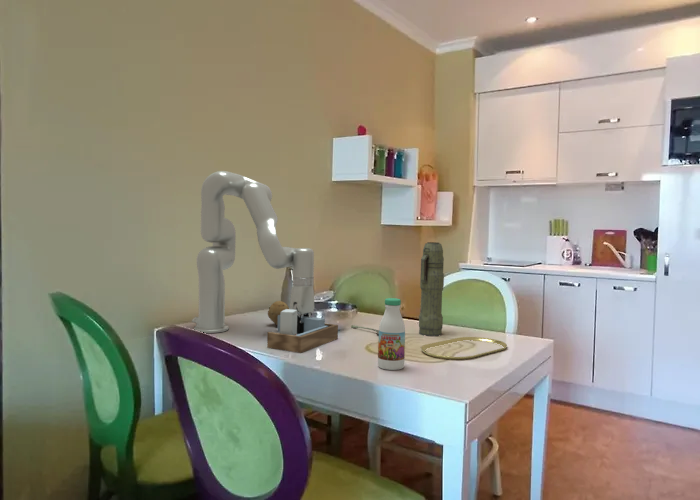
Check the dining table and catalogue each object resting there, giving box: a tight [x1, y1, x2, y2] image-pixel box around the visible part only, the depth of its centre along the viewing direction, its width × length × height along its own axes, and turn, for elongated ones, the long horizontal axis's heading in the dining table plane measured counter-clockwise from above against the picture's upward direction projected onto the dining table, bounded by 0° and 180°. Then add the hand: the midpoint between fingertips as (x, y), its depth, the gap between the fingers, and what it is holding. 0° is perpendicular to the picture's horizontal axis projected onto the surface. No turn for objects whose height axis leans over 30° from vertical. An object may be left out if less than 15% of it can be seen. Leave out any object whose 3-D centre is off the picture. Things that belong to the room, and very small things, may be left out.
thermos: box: [418, 241, 445, 337], centre depth 199 cm, size 9×12×35 cm
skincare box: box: [279, 308, 298, 335], centre depth 175 cm, size 6×4×12 cm
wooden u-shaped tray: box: [266, 323, 339, 354], centre depth 180 cm, size 13×24×5 cm, turn 153°
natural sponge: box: [267, 300, 290, 326], centre depth 208 cm, size 9×9×10 cm
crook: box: [276, 315, 328, 336], centre depth 182 cm, size 20×20×6 cm
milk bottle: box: [377, 297, 406, 371], centre depth 152 cm, size 8×8×20 cm
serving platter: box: [420, 336, 508, 361], centre depth 176 cm, size 19×35×2 cm, turn 132°
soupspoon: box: [350, 324, 379, 335], centre depth 200 cm, size 22×3×7 cm
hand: (302, 332), depth 189 cm, fingers closed on crook, 3 cm apart
